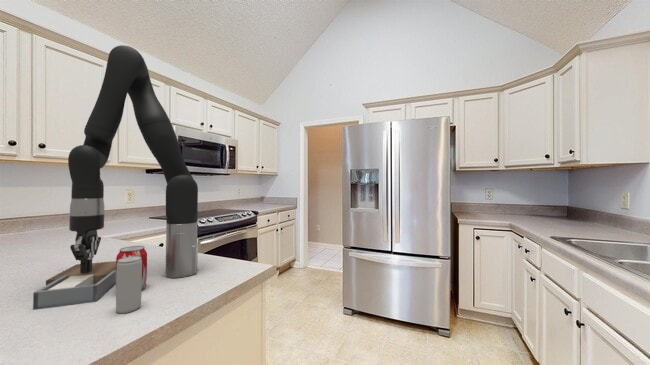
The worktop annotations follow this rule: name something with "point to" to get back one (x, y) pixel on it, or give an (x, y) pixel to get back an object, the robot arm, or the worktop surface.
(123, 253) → the soda can
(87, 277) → the rear tile
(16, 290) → the worktop surface
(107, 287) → the grey tray
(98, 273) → the walnut board
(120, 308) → the grey cylinder
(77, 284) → the front tile
